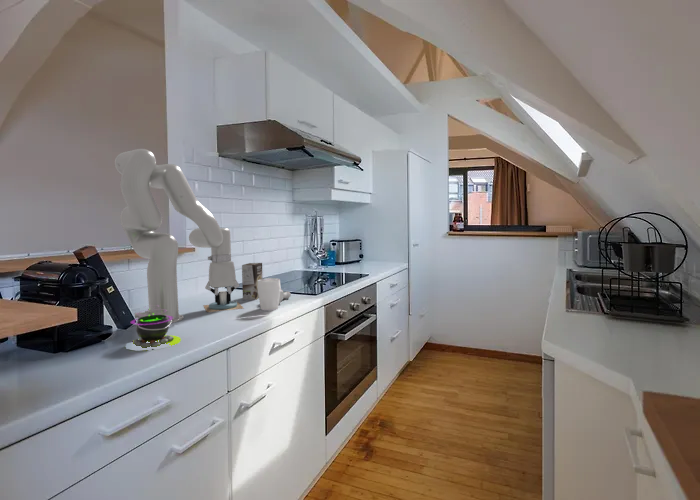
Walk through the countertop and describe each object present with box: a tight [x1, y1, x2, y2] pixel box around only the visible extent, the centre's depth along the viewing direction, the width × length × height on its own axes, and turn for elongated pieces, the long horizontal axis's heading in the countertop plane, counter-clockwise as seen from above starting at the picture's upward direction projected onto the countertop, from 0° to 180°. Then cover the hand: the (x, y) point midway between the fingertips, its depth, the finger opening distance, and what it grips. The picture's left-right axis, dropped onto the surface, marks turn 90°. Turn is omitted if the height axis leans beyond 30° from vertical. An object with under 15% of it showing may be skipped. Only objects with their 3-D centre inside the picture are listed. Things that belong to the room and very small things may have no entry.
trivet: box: [203, 301, 245, 313], centre depth 164 cm, size 14×14×1 cm
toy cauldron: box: [130, 306, 182, 348], centre depth 119 cm, size 15×15×11 cm
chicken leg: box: [279, 288, 292, 304], centre depth 175 cm, size 8×18×8 cm, turn 164°
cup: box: [257, 277, 282, 311], centre depth 160 cm, size 9×9×12 cm
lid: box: [208, 290, 238, 311], centre depth 164 cm, size 11×11×6 cm
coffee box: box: [241, 262, 264, 301], centre depth 182 cm, size 9×6×16 cm
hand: (223, 303), depth 164 cm, fingers closed on lid, 3 cm apart
